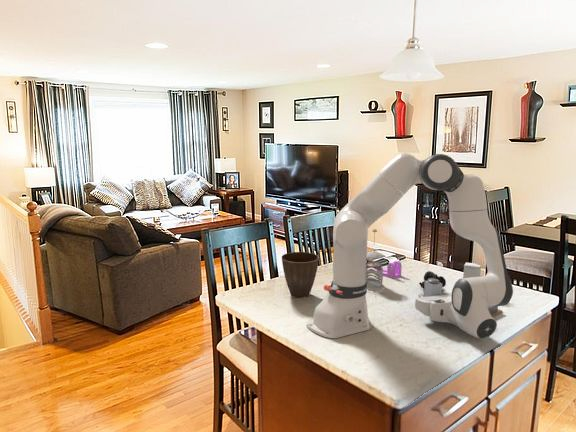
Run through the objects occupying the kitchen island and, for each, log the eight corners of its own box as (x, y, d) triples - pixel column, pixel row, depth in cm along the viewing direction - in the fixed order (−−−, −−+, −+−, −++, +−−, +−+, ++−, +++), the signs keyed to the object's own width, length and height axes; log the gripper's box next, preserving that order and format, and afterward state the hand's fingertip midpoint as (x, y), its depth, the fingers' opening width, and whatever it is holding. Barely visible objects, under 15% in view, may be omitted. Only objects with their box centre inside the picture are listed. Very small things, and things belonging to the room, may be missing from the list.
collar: (485, 320, 152) (485, 312, 152) (456, 310, 161) (456, 302, 160) (502, 311, 160) (502, 303, 159) (473, 303, 168) (474, 295, 168)
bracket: (401, 276, 201) (401, 261, 199) (393, 279, 197) (394, 264, 196) (378, 269, 210) (378, 255, 209) (370, 272, 207) (371, 258, 206)
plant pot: (326, 295, 177) (326, 257, 174) (297, 304, 168) (297, 264, 165) (302, 286, 188) (302, 249, 186) (274, 294, 179) (274, 256, 176)
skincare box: (461, 293, 178) (463, 264, 176) (463, 290, 182) (465, 262, 180) (477, 296, 175) (480, 267, 173) (479, 292, 179) (481, 264, 177)
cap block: (440, 312, 160) (442, 281, 157) (429, 314, 158) (431, 282, 156) (433, 308, 164) (435, 277, 162) (423, 309, 163) (424, 278, 160)
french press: (385, 290, 182) (387, 231, 177) (357, 289, 184) (358, 231, 179) (384, 283, 192) (386, 226, 187) (357, 281, 193) (358, 226, 189)
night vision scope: (427, 289, 190) (446, 276, 188) (431, 305, 173) (453, 291, 171) (415, 275, 190) (435, 262, 187) (419, 290, 173) (440, 275, 170)
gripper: (482, 297, 149) (457, 284, 162) (429, 303, 144) (407, 289, 157) (481, 314, 151) (455, 300, 164) (428, 321, 145) (406, 306, 159)
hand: (431, 295), depth 160 cm, fingers open, 8 cm apart
